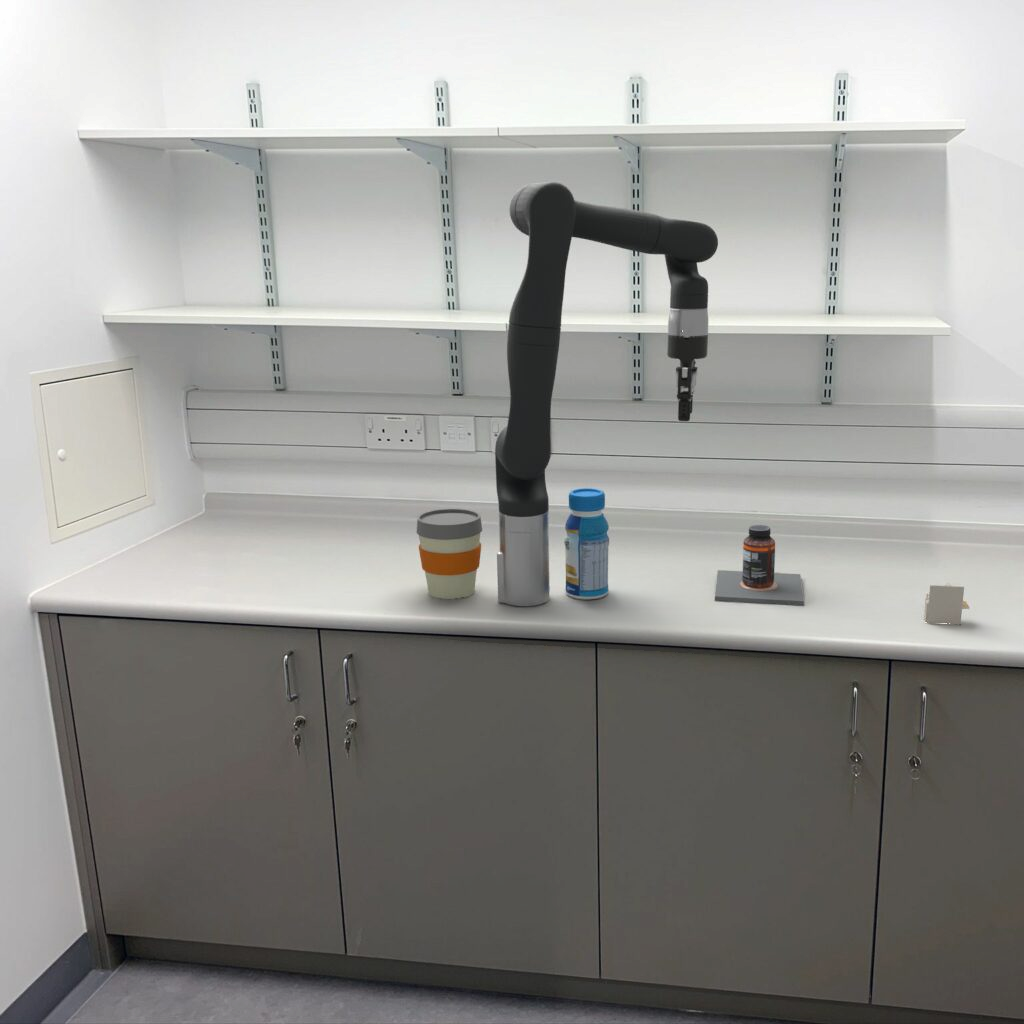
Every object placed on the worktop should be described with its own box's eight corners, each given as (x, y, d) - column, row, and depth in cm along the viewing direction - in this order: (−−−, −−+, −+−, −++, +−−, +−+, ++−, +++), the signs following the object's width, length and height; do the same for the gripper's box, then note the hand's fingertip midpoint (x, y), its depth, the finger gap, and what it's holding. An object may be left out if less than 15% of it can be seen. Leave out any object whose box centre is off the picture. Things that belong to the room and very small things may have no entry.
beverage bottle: (599, 603, 195) (599, 499, 190) (557, 597, 199) (556, 494, 194) (615, 589, 202) (616, 488, 197) (575, 584, 206) (574, 485, 201)
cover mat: (714, 600, 195) (714, 595, 195) (717, 573, 210) (717, 569, 210) (803, 605, 192) (803, 600, 192) (800, 577, 207) (800, 573, 207)
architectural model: (921, 619, 185) (925, 579, 183) (963, 621, 184) (967, 581, 182) (925, 626, 182) (928, 585, 180) (967, 628, 181) (971, 587, 179)
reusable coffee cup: (407, 597, 200) (403, 521, 196) (438, 578, 211) (435, 506, 207) (466, 605, 195) (463, 528, 191) (494, 585, 206) (492, 511, 202)
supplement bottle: (769, 578, 204) (771, 522, 201) (777, 588, 198) (780, 531, 195) (738, 579, 204) (740, 523, 201) (746, 589, 198) (748, 532, 195)
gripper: (670, 329, 206) (668, 410, 211) (665, 335, 193) (662, 422, 197) (709, 329, 205) (706, 411, 209) (706, 336, 191) (703, 424, 195)
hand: (685, 417), depth 203 cm, fingers open, 8 cm apart
